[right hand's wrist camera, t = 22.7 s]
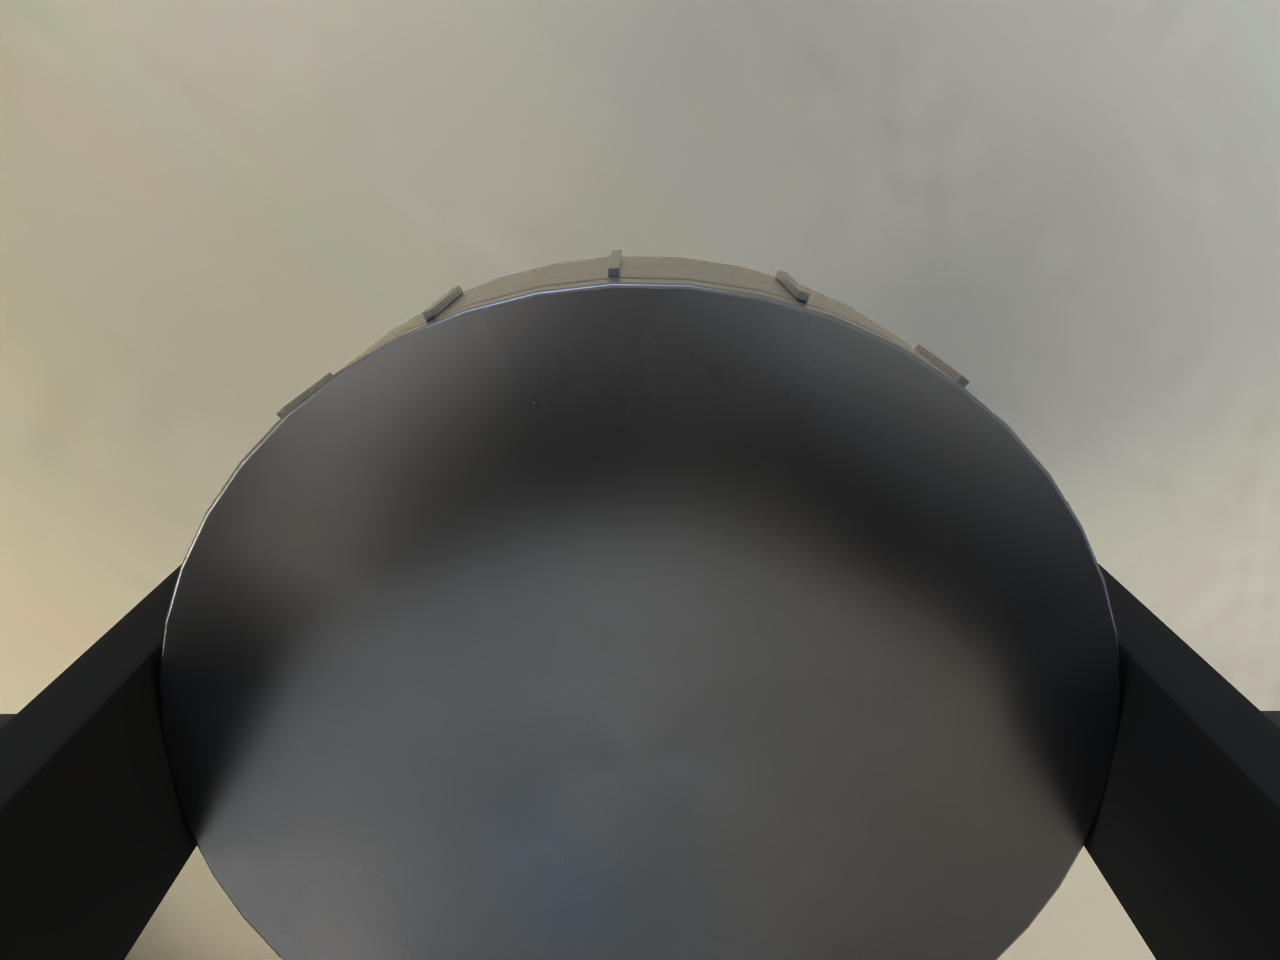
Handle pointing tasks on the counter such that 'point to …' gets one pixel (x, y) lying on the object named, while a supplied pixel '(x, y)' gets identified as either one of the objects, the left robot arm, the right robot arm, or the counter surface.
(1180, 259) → the counter surface
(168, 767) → the right robot arm
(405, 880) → the lid
